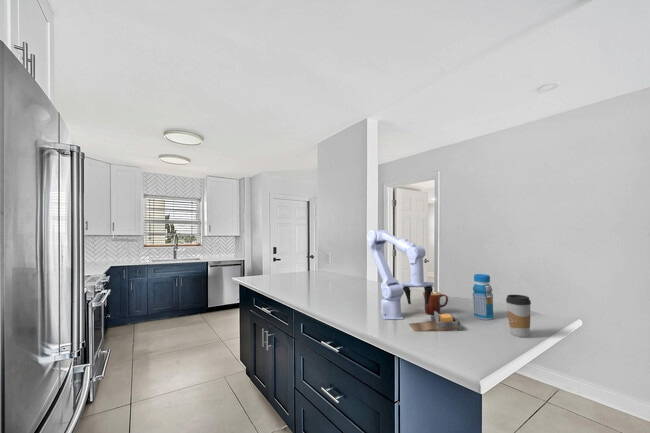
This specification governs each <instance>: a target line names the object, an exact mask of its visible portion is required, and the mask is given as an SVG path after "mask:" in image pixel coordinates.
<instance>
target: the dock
mask: <svg viewBox="0 0 650 433" xmlns="http://www.w3.org/2000/svg"><path fill="white" fill-rule="evenodd" d="M450 315H451V316H452V317H453V322H437V323H436V322H435V315H430V320H429V321H420V322H412V323H408V325H409V326H410V328H411V329H412V330H413V332H415V333H416V332H460V331H461V321H460V320H458V318H456V317H455V316H453V315H452V314H450Z"/></svg>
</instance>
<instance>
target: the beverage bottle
mask: <svg viewBox="0 0 650 433" xmlns="http://www.w3.org/2000/svg"><path fill="white" fill-rule="evenodd" d="M473 281H474V284H473V287H472V290H473V293H472V300H473V316H474V318H476V319H477V320H478V319H479V320H485V321H486V320H488V321H490V320H493V319H494V317H495V316H494V294H493V293H492V292H493V288H492V286H491V285H490V283H491V276H490V275H489V274H482V273H477V274H476V273H475V274H474V275H473Z"/></svg>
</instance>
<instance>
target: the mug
mask: <svg viewBox="0 0 650 433" xmlns="http://www.w3.org/2000/svg"><path fill="white" fill-rule="evenodd" d="M422 295H423V297H424V298H423V299H424V301H425V291H423V292H422ZM442 297H445V301H444V303H443V304H441V298H442ZM448 303H449V297H448V295H446V294H444V293H441V292H438V291H432V293H431V295H430V297H429V301H428V304H426V303H425V302H424V312H425V314H426V315H429V316H435V315H434V311H436V312H437V313H438V314H439V315H440V314H441V310H442V309H441V308H444V307H446V306H447V305H448Z"/></svg>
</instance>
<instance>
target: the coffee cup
mask: <svg viewBox="0 0 650 433" xmlns="http://www.w3.org/2000/svg"><path fill="white" fill-rule="evenodd" d="M505 299H506V300H505V302H506V307H507V308H506V310H507V318H508V326H509V330H510V334H511V335H512V336H514V337H517V338H524V339H525V338H529V337H530V335H531V304H532V303H531V302H532V301H531V299H530V297H529V296H527V295H523V294H522V295H521V294H507V296H506V298H505Z"/></svg>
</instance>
